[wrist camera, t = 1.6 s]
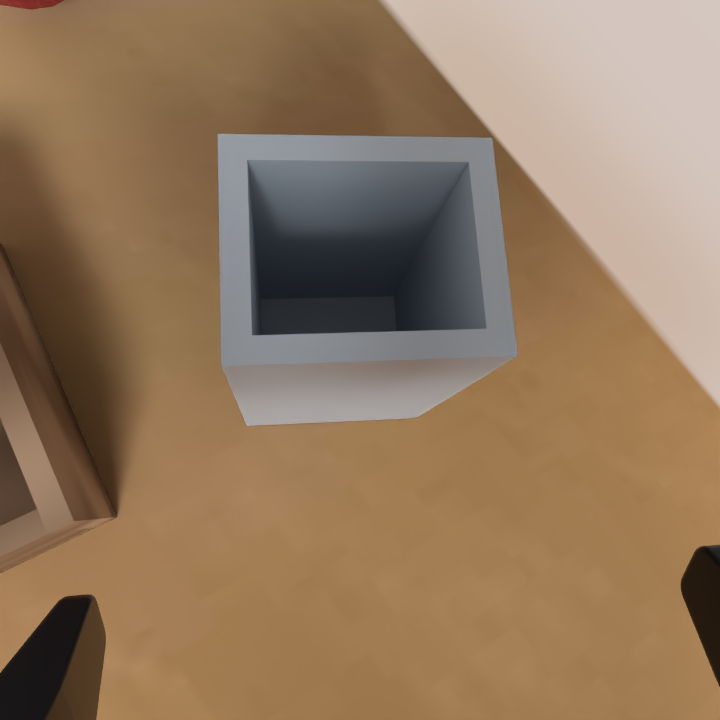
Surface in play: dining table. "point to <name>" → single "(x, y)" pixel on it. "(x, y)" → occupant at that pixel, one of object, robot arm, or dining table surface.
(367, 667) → the dining table surface
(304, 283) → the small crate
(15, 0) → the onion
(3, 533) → the big crate
